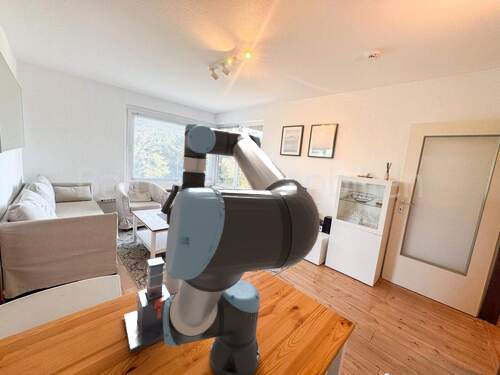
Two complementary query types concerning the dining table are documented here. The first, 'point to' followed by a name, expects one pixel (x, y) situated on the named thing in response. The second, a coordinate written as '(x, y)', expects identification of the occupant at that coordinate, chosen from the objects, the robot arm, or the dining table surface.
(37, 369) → the dining table surface
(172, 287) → the mug
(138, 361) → the dining table surface
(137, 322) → the sleeve
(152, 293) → the column
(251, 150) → the robot arm
